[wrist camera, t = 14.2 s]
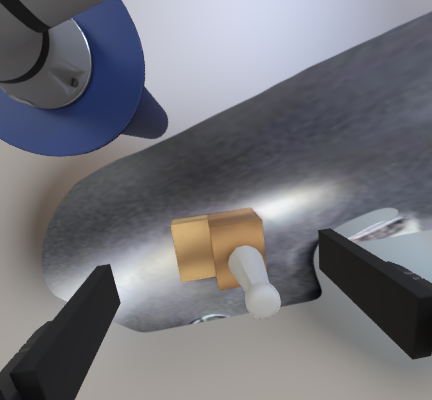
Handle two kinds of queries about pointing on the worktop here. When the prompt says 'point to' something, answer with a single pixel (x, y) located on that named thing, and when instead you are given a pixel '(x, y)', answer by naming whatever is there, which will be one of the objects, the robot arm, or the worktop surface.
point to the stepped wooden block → (215, 243)
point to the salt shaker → (254, 282)
